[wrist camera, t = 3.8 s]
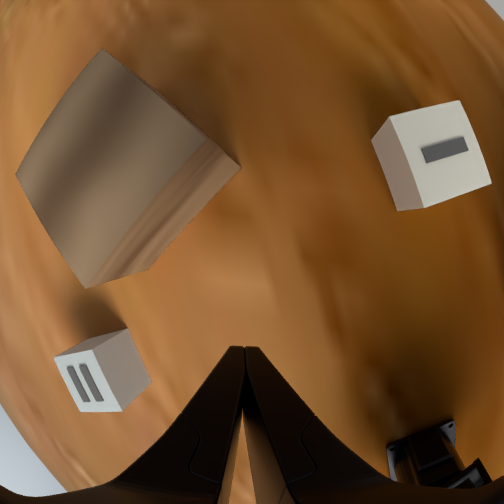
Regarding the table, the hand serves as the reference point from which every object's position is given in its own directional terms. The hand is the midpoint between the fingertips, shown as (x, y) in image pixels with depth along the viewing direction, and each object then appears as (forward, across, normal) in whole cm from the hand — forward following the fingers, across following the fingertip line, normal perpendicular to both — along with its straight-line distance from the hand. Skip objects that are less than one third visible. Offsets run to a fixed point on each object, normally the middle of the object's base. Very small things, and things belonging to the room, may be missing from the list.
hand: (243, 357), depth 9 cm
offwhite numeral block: (+11, -11, -6) cm, 17 cm away
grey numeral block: (+12, +9, +11) cm, 19 cm away
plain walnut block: (+15, +7, -4) cm, 17 cm away
